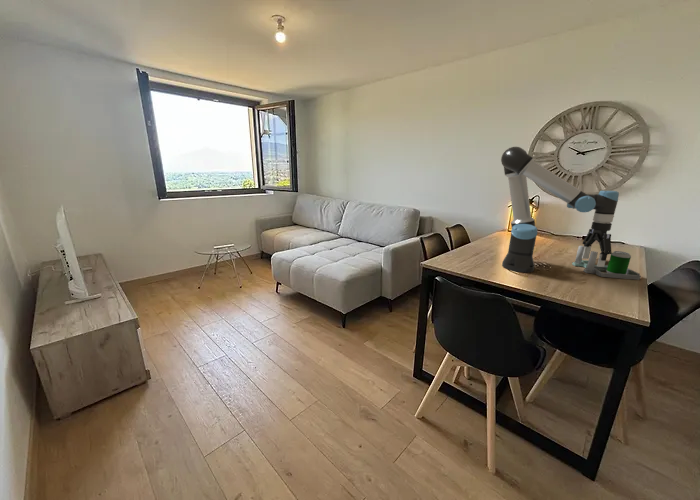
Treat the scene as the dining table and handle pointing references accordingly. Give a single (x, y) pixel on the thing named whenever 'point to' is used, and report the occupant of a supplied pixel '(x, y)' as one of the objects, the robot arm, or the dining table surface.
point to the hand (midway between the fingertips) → (592, 262)
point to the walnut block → (605, 262)
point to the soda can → (618, 262)
